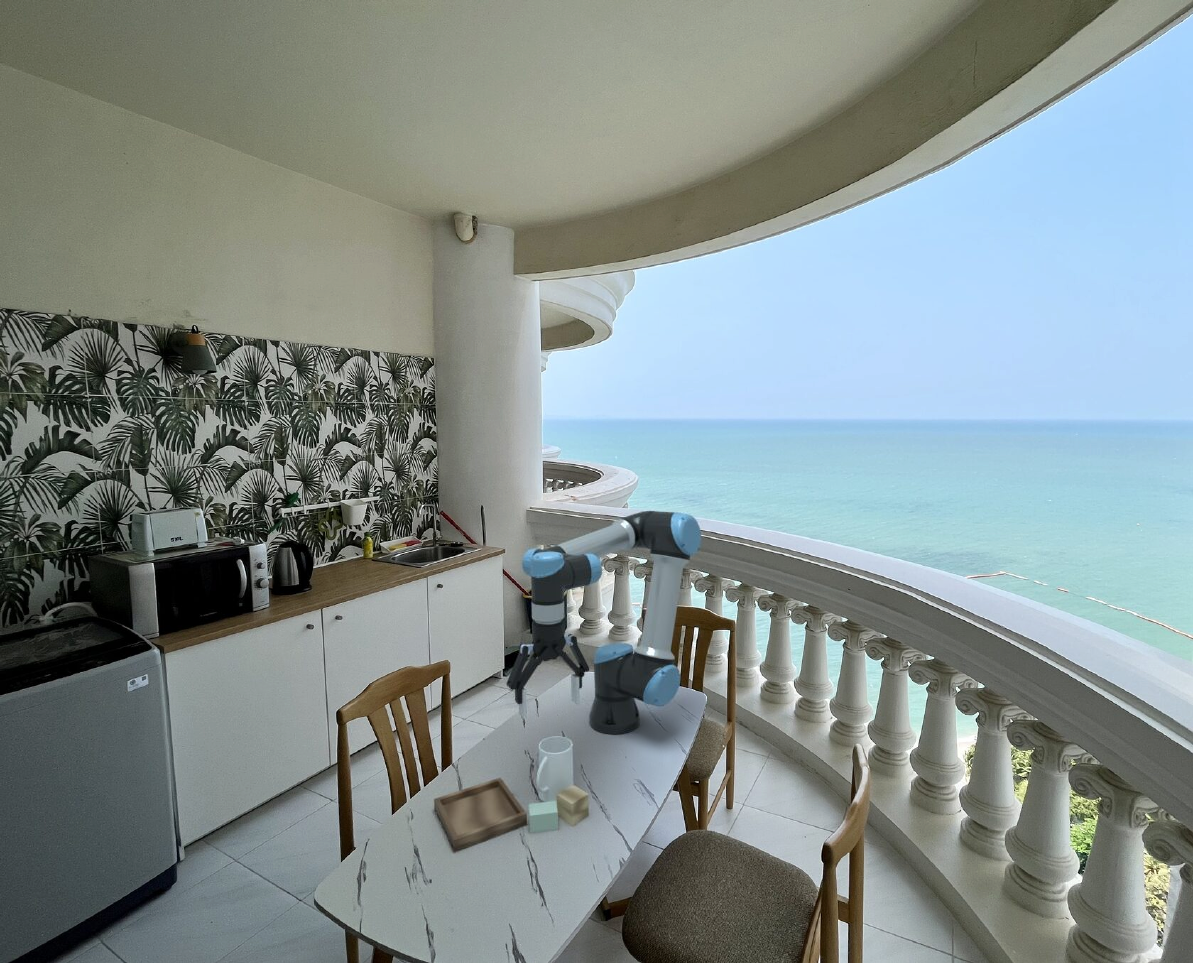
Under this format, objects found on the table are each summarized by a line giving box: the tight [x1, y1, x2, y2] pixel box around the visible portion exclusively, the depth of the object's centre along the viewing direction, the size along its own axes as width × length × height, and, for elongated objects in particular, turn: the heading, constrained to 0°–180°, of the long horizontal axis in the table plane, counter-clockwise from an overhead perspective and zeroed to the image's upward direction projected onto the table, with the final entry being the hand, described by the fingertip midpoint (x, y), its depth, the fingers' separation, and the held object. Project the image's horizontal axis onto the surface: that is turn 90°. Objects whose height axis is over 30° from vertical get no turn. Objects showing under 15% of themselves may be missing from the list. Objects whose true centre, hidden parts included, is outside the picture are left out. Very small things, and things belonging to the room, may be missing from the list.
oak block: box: [556, 784, 590, 827], centre depth 124 cm, size 5×5×5 cm
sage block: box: [528, 801, 559, 834], centre depth 121 cm, size 6×4×4 cm, turn 100°
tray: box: [433, 777, 528, 853], centre depth 124 cm, size 16×16×2 cm
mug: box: [536, 735, 574, 805], centre depth 131 cm, size 12×8×12 cm
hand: (549, 709), depth 130 cm, fingers open, 13 cm apart
